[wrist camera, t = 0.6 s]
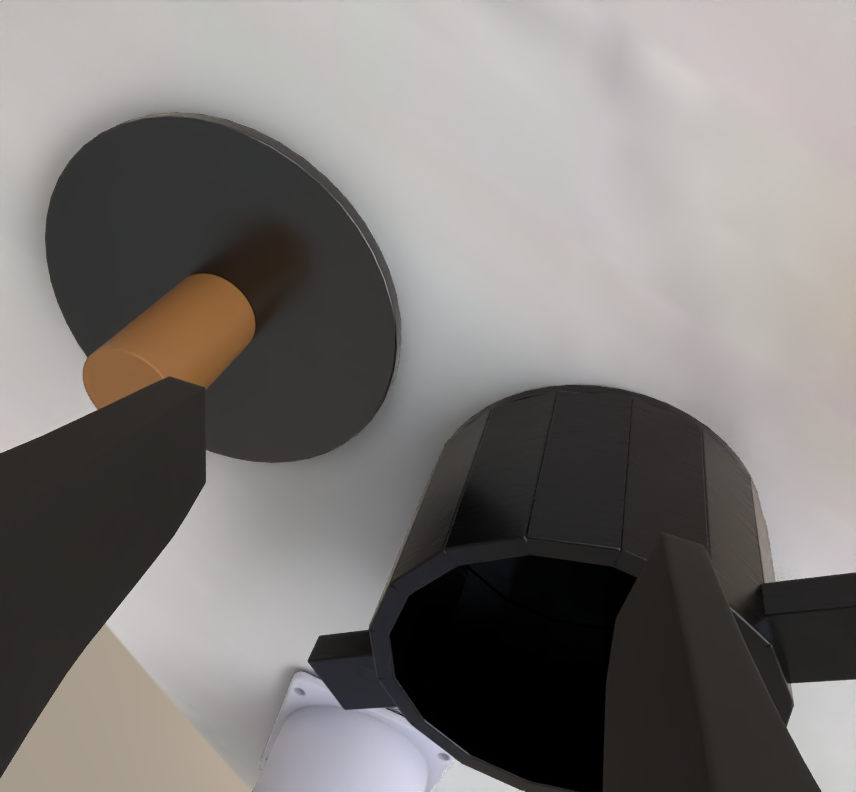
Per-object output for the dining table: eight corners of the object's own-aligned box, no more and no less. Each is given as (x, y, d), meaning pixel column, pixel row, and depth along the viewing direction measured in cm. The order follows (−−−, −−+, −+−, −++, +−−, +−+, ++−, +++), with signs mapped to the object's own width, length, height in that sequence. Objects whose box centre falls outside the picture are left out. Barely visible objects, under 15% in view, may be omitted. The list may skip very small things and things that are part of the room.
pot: (893, 603, 23) (958, 811, 18) (441, 648, 30) (394, 806, 25) (820, 314, 18) (878, 477, 13) (313, 446, 25) (223, 586, 20)
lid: (469, 400, 23) (421, 523, 18) (201, 471, 28) (112, 581, 23) (281, 31, 18) (156, 77, 14) (0, 195, 23) (-157, 267, 19)
